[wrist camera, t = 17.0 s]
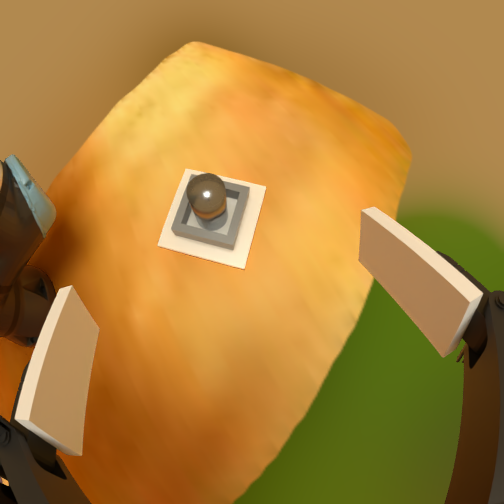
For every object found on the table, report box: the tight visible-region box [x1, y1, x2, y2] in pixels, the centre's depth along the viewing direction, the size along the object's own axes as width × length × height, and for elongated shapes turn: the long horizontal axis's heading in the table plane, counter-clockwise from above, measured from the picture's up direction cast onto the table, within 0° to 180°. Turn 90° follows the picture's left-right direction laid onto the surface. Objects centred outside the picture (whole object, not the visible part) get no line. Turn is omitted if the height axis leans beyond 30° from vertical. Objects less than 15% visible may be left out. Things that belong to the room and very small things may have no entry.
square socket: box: [157, 169, 266, 270], centre depth 42 cm, size 14×14×4 cm
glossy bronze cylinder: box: [186, 173, 228, 231], centre depth 39 cm, size 5×5×9 cm
